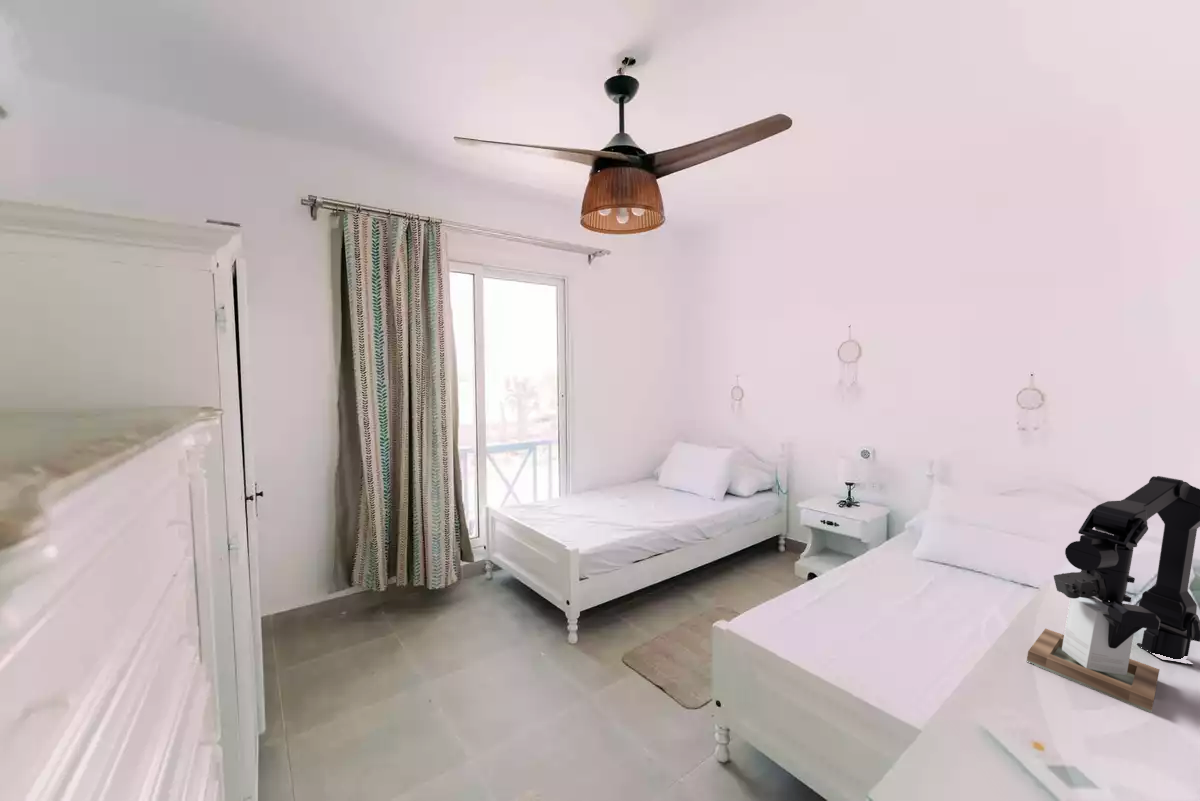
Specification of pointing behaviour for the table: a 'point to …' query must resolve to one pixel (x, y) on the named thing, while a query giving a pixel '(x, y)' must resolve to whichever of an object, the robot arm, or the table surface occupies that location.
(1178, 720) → the table surface
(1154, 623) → the robot arm
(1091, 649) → the supplement box
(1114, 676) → the pocket board
